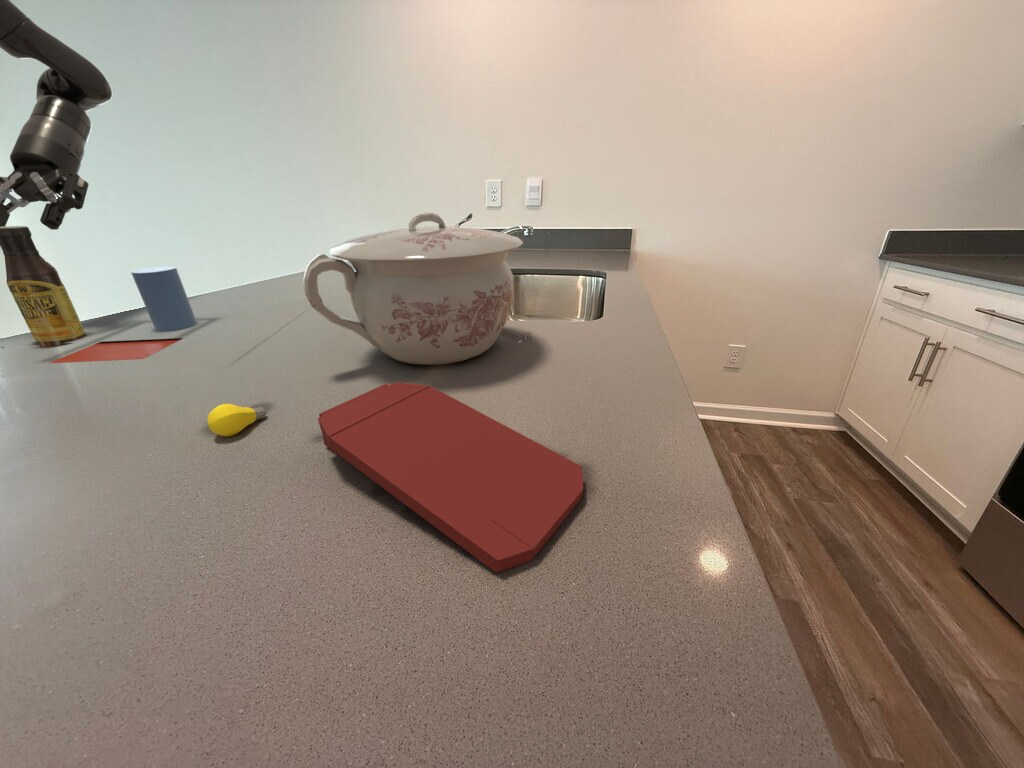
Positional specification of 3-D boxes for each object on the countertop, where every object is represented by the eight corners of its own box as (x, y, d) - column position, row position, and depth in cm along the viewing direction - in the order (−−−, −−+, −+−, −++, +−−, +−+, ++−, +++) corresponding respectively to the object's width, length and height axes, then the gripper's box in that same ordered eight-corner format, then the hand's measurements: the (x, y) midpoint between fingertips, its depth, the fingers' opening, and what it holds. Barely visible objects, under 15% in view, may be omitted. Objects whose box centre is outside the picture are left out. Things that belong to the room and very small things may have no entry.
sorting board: (50, 367, 63) (47, 363, 63) (145, 328, 81) (143, 324, 81) (144, 363, 64) (142, 358, 64) (218, 324, 82) (216, 321, 81)
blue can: (147, 334, 75) (121, 273, 70) (171, 324, 80) (148, 267, 75) (184, 333, 75) (160, 272, 70) (204, 322, 81) (184, 265, 76)
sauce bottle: (31, 353, 69) (-41, 229, 60) (57, 341, 74) (-6, 226, 66) (77, 349, 71) (14, 227, 62) (99, 337, 76) (44, 224, 67)
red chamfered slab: (584, 512, 37) (401, 404, 49) (596, 473, 35) (399, 369, 46) (506, 614, 29) (305, 453, 40) (514, 571, 26) (297, 413, 38)
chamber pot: (529, 324, 77) (528, 206, 68) (516, 389, 53) (513, 217, 44) (387, 323, 80) (369, 209, 71) (313, 384, 56) (270, 222, 47)
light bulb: (204, 441, 43) (196, 408, 43) (259, 428, 49) (252, 399, 48) (223, 438, 42) (215, 405, 41) (277, 425, 47) (270, 395, 47)
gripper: (-18, 133, 68) (-56, 211, 62) (72, 131, 68) (43, 208, 63) (30, 170, 75) (0, 243, 69) (112, 168, 76) (88, 240, 70)
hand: (21, 226), depth 66 cm, fingers open, 8 cm apart
